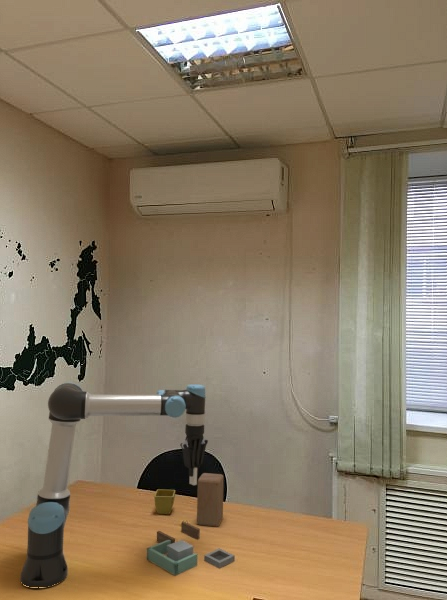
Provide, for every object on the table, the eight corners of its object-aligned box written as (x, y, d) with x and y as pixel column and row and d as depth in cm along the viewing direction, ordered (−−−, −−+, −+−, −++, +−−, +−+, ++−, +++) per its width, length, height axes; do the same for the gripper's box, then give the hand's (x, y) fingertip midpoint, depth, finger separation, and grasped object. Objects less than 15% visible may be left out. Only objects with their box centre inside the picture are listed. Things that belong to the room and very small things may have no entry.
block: (178, 565, 177) (178, 552, 177) (166, 558, 182) (167, 545, 182) (193, 559, 182) (193, 546, 182) (181, 553, 187) (181, 539, 187)
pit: (219, 568, 175) (219, 562, 176) (204, 560, 181) (204, 555, 181) (234, 560, 181) (234, 555, 181) (219, 553, 187) (219, 548, 187)
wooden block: (218, 527, 210) (219, 480, 211) (196, 525, 212) (197, 478, 213) (223, 518, 220) (224, 473, 221) (201, 516, 222) (202, 472, 223)
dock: (175, 575, 170) (175, 564, 170) (146, 559, 181) (147, 548, 181) (197, 565, 177) (197, 554, 178) (168, 549, 189) (168, 539, 189)
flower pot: (172, 516, 221) (173, 496, 221) (153, 516, 221) (154, 496, 222) (175, 509, 230) (175, 489, 230) (156, 508, 230) (157, 489, 230)
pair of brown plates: (172, 550, 189) (172, 539, 189) (156, 541, 196) (156, 531, 196) (199, 538, 199) (199, 528, 199) (183, 531, 206) (183, 521, 206)
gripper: (200, 420, 201) (198, 478, 199) (176, 424, 191) (174, 485, 190) (213, 423, 195) (211, 483, 194) (188, 427, 186) (186, 490, 185)
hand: (192, 484), depth 192 cm, fingers closed
